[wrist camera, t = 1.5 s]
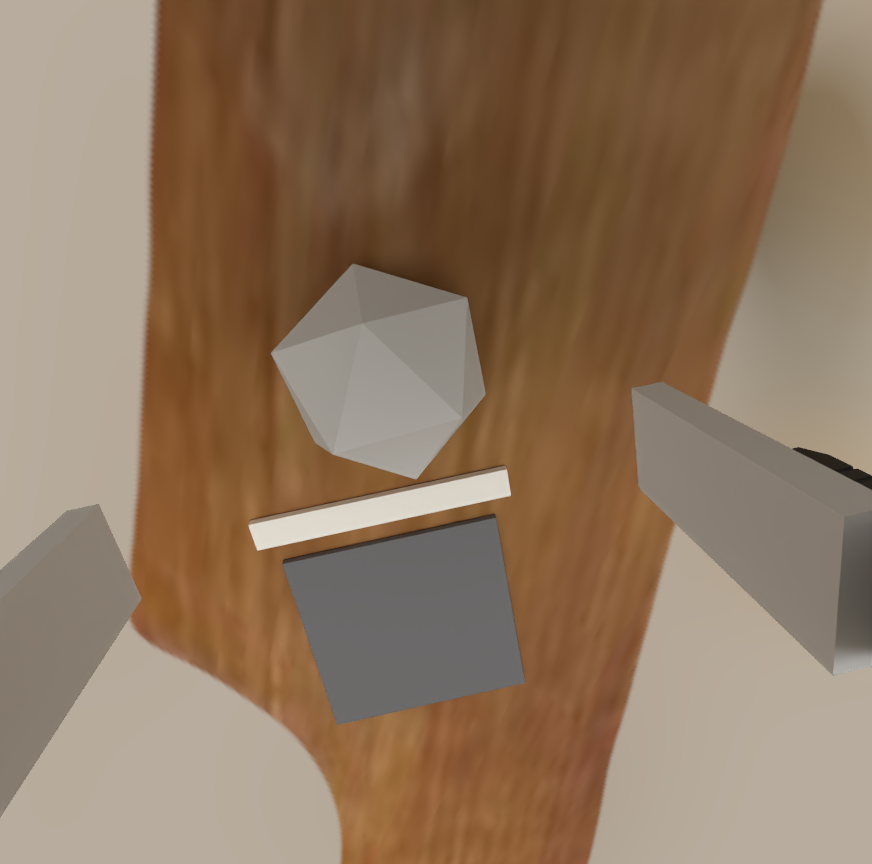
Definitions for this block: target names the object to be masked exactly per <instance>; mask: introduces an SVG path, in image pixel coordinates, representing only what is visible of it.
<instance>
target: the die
mask: <svg viewBox="0 0 872 864" xmlns="http://www.w3.org/2000/svg"><path fill="white" fill-rule="evenodd" d="M271 355H272V357H273V359H274V361H275V363H276V365H277V367H278V369H279V371H280V373H281V375H282V377H283V379H284V381H285V383H286V385H287V387H288V389H289V391H290V393H291V395H292V397H293V399H294V401H295V403H296V405H297V407H298V409H299V412H300V414H301V416H302V418H303V420H304V422H305V424H306V426H307V428H308V430H309V432H310V434H311V436H312V438H313V440H314V442H315V443H316V444H318V445H319V446H321V447H322V448H324V449H325V450H327V451H328V452H330V453H331V454H333V455H336V456H339V457H342V458H346V459H349V460H353V461H356V462H359V463H363V464H366V465H369V466H373V467H376V468H379V469H383V470H386V471H389V472H393V473H396V474H399V475H403V476H406V477H410V478H413V479H417V478H418V477H419V476H420V474H421V473H422V472H423V471H424V469H425V468H426V467H427V466H428V465H429V463H430V462H431V461H432V460H433V458H434V457H435V456H436V455H437V453H438V452H439V451H440V450H441V449H442V447H443V446H444V445H445V444H446V442H447V441H448V440H449V439H450V438H451V436H452V435H453V434H454V433H455V431H456V430H457V429H458V428H459V427H460V425H461V424H462V423H463V422H464V420H465V419H466V418H467V417H468V416H469V414H470V413H471V412H472V411H473V409H474V408H475V407H476V406H477V404H478V403H479V402H480V401H481V400H482V398H483V397H484V396H485V395H486V393H485V387H484V382H483V377H482V372H481V367H480V361H479V356H478V351H477V346H476V341H475V335H474V330H473V325H472V320H471V315H470V309H469V304H468V299H467V297H464V296H460V295H457V294H453V293H450V292H447V291H443V290H440V289H437V288H433V287H430V286H427V285H423V284H420V283H417V282H413V281H410V280H407V279H403V278H400V277H397V276H393V275H390V274H386V273H383V272H380V271H376V270H373V269H370V268H366V267H363V266H360V265H356V264H352V265H351V266H350V267H349V268H348V269H347V270H346V272H345V273H344V274H343V275H342V276H341V277H340V278H339V279H338V280H337V281H336V282H335V284H334V285H333V286H332V287H331V288H330V289H329V290H328V291H327V292H326V293H325V294H324V296H323V297H322V298H321V299H320V300H319V301H318V302H317V303H316V304H315V305H314V306H313V308H312V309H311V310H310V311H309V312H308V313H307V314H306V315H305V316H304V317H303V318H302V320H301V321H300V322H299V323H298V324H297V325H296V326H295V327H294V328H293V329H292V330H291V332H290V333H289V334H288V335H287V336H286V337H285V338H284V339H283V340H282V341H281V342H280V344H279V345H278V346H277V347H276V348H275V349H274V350H273V351H272V352H271Z"/></svg>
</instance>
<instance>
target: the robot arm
mask: <svg viewBox="0 0 872 864" xmlns="http://www.w3.org/2000/svg"><path fill="white" fill-rule="evenodd" d="M632 401H633V415H634V429H635V443H636V456H637V470H638V484H639V489H640V490H641V491H642V492H643V493H644V494H646V495H647V496H648V497H649V498H650V499H651V500H652V501H653V502H654V503H655V504H656V505H657V506H658V507H659V508H660V509H661V510H662V511H663V512H664V513H665V514H666V515H667V516H668V517H669V518H670V519H671V520H672V521H673V522H675V523H676V524H677V525H678V526H679V527H680V528H681V529H682V530H683V531H684V532H685V533H686V534H687V535H688V536H689V537H690V538H691V539H692V540H693V541H694V542H695V543H696V544H697V545H698V546H699V547H701V548H702V549H703V550H704V551H705V552H706V553H707V554H708V555H709V556H710V557H711V558H712V559H713V560H714V561H715V562H716V563H717V564H718V565H719V566H720V567H721V568H722V569H723V570H724V571H725V572H726V573H727V574H728V575H729V576H730V577H731V578H733V579H734V580H735V581H736V582H737V583H738V584H739V585H740V586H741V587H742V588H743V589H744V590H745V591H746V592H747V593H748V594H749V595H750V596H751V597H752V598H753V599H754V600H755V601H757V603H758V604H759V605H760V606H762V607H763V608H764V609H765V610H766V611H767V612H768V613H769V614H770V615H771V616H772V617H773V618H774V619H775V620H776V621H777V622H778V623H779V624H780V625H781V626H782V627H783V628H784V629H785V630H787V632H789V634H790V635H792V636H793V637H794V638H795V639H796V640H797V641H798V642H799V643H800V644H801V645H802V646H803V647H804V648H805V649H806V650H807V651H808V652H809V653H810V654H811V655H812V656H814V658H815V659H817V661H818V662H819V663H821V664H822V665H823V666H824V667H825V668H826V669H827V670H828V671H829V672H830V673H831V674H832V675H837V674H842V673H846V672H850V671H854V670H858V669H863V668H867V667H871V666H872V476H871V475H869V474H867V473H865V472H863V471H861V470H859V469H853V467H852V466H851V465H848V464H847V463H845V462H843V461H840V460H838V459H836V458H834V457H832V456H830V455H827V454H823V453H819V452H815V451H811V450H807V449H803V448H799V447H798V448H793V449H791V448H789V447H787V446H785V445H783V444H781V443H779V442H777V441H775V440H774V439H772V438H770V437H768V436H766V435H764V434H762V433H760V432H758V431H756V430H754V429H752V428H750V427H748V426H746V425H744V424H743V423H740V422H738V421H736V420H735V419H733V418H731V417H729V416H727V415H725V414H723V413H721V412H719V411H717V410H715V409H713V408H712V407H710V406H708V405H706V404H704V403H702V402H700V401H698V400H696V399H694V398H692V397H690V396H688V395H686V394H684V393H682V392H680V391H679V390H677V389H675V388H673V387H671V386H669V385H667V384H665V383H663V382H659V383H654V384H650V385H645V386H640V387H636V388H632ZM141 599H142V598H141V596H140V594H139V592H138V589H137V587H136V585H135V583H134V581H133V578H132V576H131V574H130V572H129V570H128V567H127V565H126V563H125V561H124V559H123V556H122V554H121V552H120V550H119V548H118V545H117V543H116V541H115V539H114V537H113V534H112V532H111V530H110V528H109V525H108V523H107V521H106V519H105V517H104V515H103V512H102V510H101V508H100V506H99V504H97V505H92V506H88V507H83V508H78V509H74V510H70V511H66V512H65V513H64V514H63V515H62V516H61V517H59V518H58V519H57V520H56V521H55V522H54V523H53V524H52V525H50V526H49V527H48V528H47V529H46V530H45V531H44V532H43V533H42V534H40V535H39V536H38V537H37V538H36V539H35V540H34V541H32V542H31V543H30V544H29V545H28V546H27V547H26V548H25V549H24V550H22V551H21V552H20V553H19V554H18V555H17V556H16V557H15V558H13V559H12V560H11V561H10V562H9V563H8V564H7V565H6V566H4V567H3V568H2V569H1V570H0V817H1V815H2V814H3V812H4V811H5V809H6V808H7V806H8V805H9V803H10V801H11V800H12V798H13V797H14V795H15V794H16V792H17V791H18V789H19V787H20V786H21V784H22V783H23V781H24V780H25V778H26V777H27V775H28V774H29V772H30V771H31V769H32V767H33V766H34V764H35V763H36V761H37V760H38V758H39V757H40V755H41V753H42V752H43V750H44V749H45V747H46V746H47V744H48V743H49V741H50V740H51V738H52V737H53V735H54V733H55V732H56V730H57V729H58V727H59V725H60V724H61V723H62V721H63V720H64V718H65V716H66V715H67V713H68V712H69V710H70V709H71V707H72V706H73V704H74V703H75V701H76V699H77V698H78V696H79V695H80V693H81V691H82V690H83V689H84V687H85V686H86V684H87V682H88V680H89V679H90V678H91V676H92V675H93V673H94V672H95V670H96V669H97V667H98V665H99V664H100V662H101V661H102V659H103V658H104V656H105V654H106V653H107V651H108V650H109V648H110V647H111V645H112V644H113V642H114V641H115V639H116V638H117V636H118V635H119V633H120V631H121V630H122V628H123V627H124V625H125V624H126V622H127V621H128V619H129V617H130V616H131V614H132V613H133V611H134V610H135V608H136V607H137V605H138V604H139V602H140V600H141Z"/></svg>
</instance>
